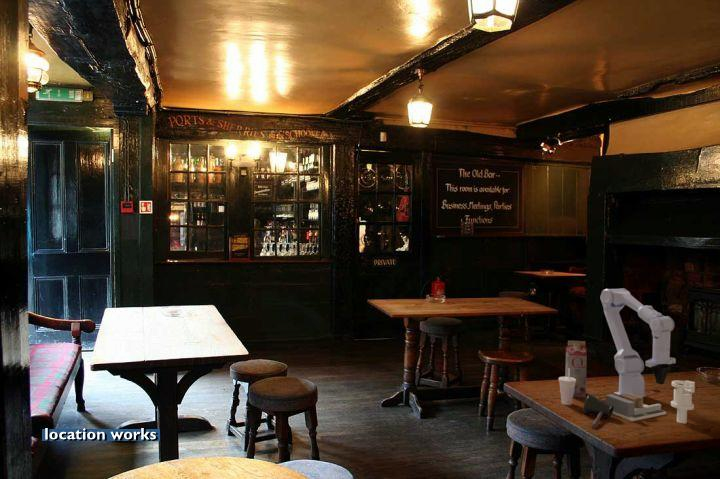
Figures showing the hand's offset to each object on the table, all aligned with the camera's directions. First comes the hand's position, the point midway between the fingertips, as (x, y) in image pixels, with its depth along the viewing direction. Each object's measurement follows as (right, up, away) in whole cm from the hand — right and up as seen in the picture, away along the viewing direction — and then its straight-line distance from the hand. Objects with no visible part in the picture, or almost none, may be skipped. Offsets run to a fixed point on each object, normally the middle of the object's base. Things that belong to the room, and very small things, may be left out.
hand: (660, 383), depth 207 cm
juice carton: (-26, -9, +16) cm, 32 cm away
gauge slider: (-13, -8, -6) cm, 17 cm away
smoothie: (-34, -9, +4) cm, 35 cm away
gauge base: (-12, -9, -4) cm, 16 cm away
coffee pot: (-31, -10, -13) cm, 35 cm away
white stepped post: (0, -10, -14) cm, 17 cm away
